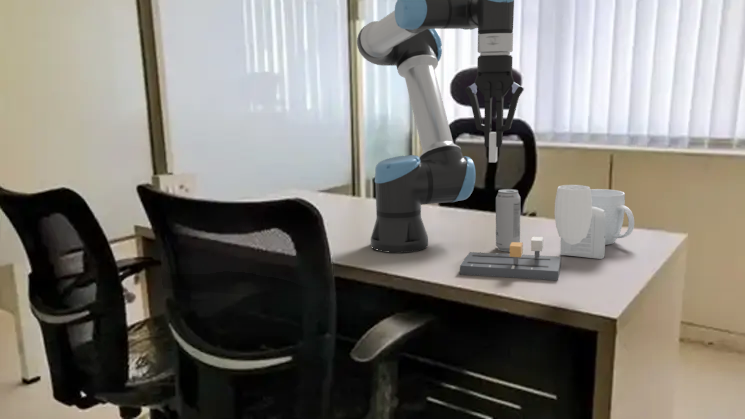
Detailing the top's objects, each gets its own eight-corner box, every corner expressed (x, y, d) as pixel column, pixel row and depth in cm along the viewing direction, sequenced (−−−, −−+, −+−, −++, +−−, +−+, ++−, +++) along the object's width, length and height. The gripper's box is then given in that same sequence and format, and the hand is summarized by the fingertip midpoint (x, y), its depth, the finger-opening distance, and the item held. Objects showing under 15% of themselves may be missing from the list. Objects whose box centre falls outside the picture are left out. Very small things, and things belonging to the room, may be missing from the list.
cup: (563, 294, 130) (565, 191, 126) (547, 283, 137) (548, 185, 133) (596, 290, 131) (599, 188, 127) (579, 280, 138) (581, 183, 134)
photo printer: (606, 255, 156) (607, 205, 153) (603, 260, 152) (604, 208, 150) (562, 251, 161) (563, 202, 158) (558, 256, 157) (559, 205, 155)
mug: (645, 245, 164) (648, 194, 161) (617, 252, 158) (620, 199, 156) (596, 235, 176) (597, 187, 174) (568, 241, 170) (570, 192, 168)
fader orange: (509, 265, 142) (509, 246, 142) (511, 260, 146) (511, 242, 145) (520, 265, 142) (520, 246, 141) (522, 261, 145) (522, 242, 144)
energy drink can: (499, 245, 169) (500, 188, 166) (522, 247, 166) (523, 189, 163) (492, 250, 164) (492, 192, 161) (516, 253, 161) (516, 193, 158)
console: (460, 274, 145) (459, 265, 145) (469, 259, 156) (469, 251, 156) (557, 280, 138) (558, 270, 138) (560, 264, 150) (561, 255, 149)
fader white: (530, 258, 147) (531, 240, 146) (532, 254, 150) (532, 236, 149) (541, 259, 146) (542, 240, 145) (543, 255, 149) (543, 237, 148)
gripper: (461, 55, 141) (461, 163, 146) (523, 53, 136) (520, 164, 142) (468, 55, 148) (467, 158, 153) (527, 53, 143) (524, 159, 149)
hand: (493, 161), depth 147 cm, fingers closed
